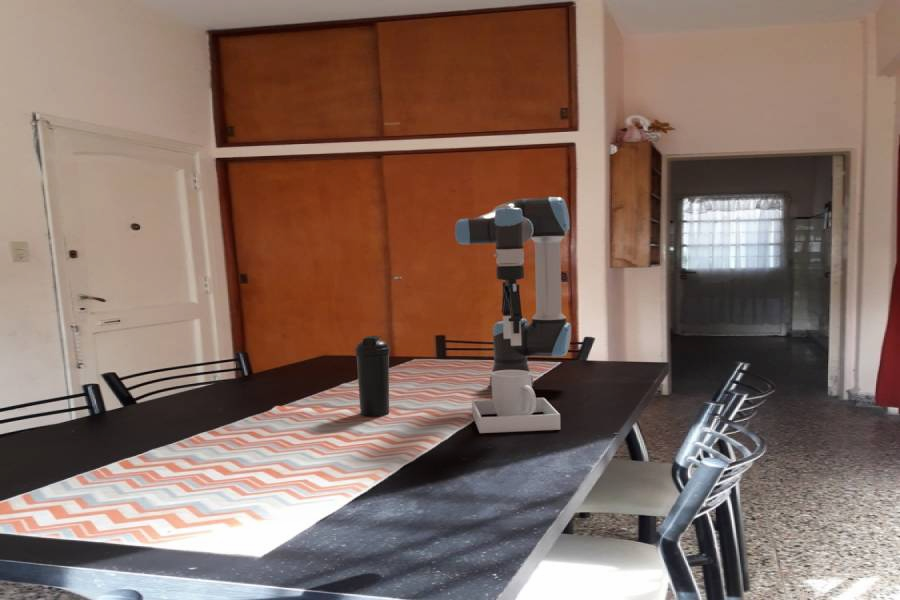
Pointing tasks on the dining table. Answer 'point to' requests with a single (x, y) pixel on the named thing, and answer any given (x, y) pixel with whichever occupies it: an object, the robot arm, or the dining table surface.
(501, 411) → the mug
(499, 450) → the dining table surface
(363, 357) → the water bottle
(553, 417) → the white shallow tray
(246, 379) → the dining table surface
